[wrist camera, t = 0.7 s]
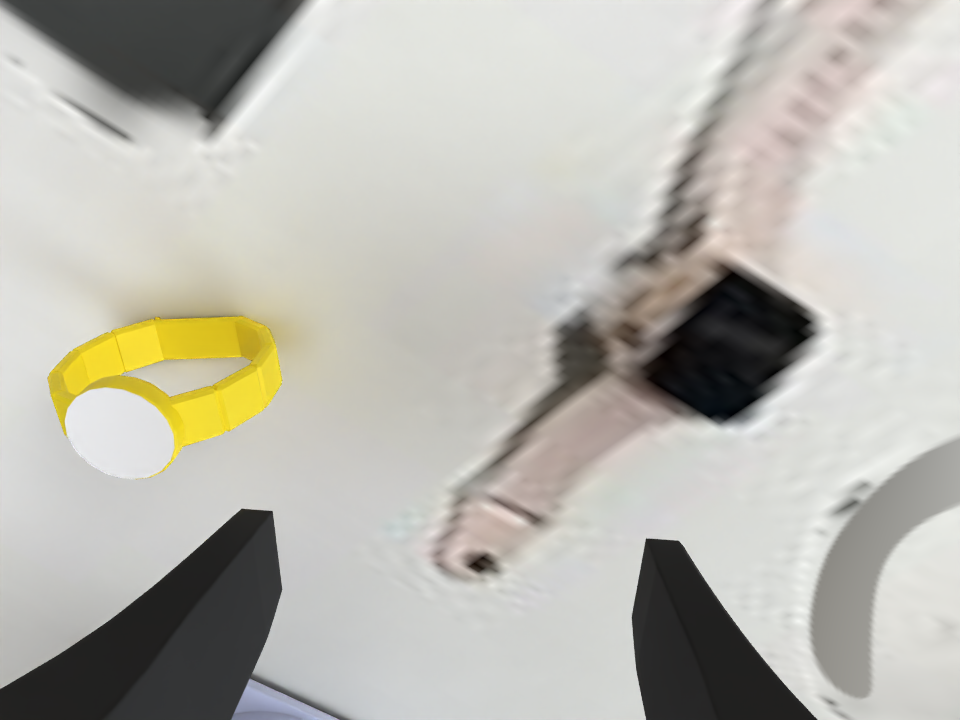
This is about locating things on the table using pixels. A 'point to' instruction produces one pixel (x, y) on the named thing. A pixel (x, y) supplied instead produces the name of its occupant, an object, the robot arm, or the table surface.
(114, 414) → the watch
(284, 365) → the table surface
